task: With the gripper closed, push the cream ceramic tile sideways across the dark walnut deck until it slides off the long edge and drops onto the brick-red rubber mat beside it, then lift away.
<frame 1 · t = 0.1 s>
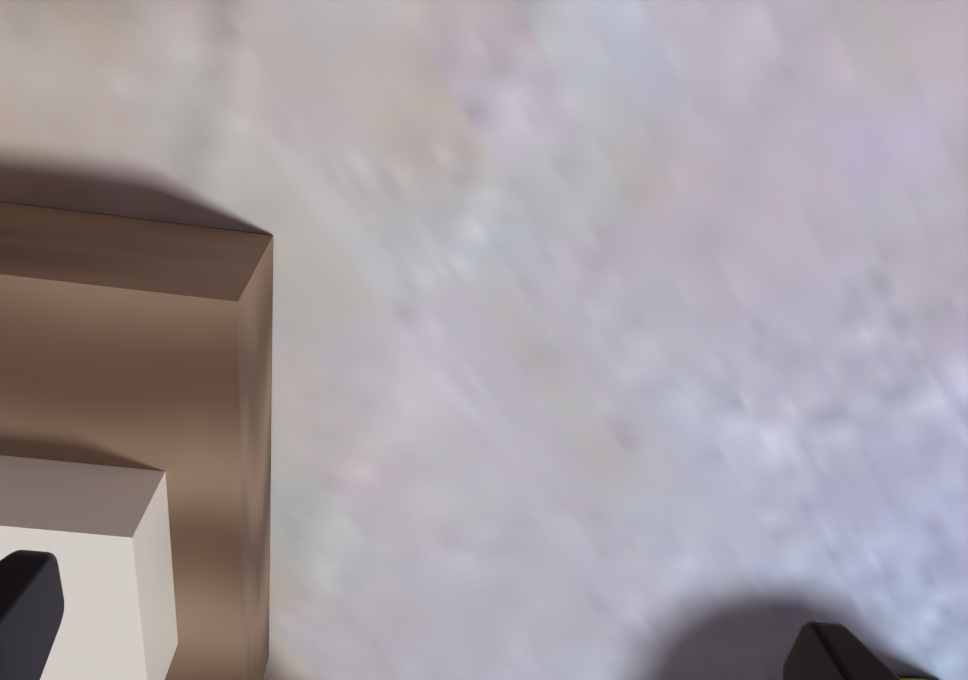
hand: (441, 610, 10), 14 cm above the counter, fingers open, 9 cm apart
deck: (86, 462, 27), on the counter
tile: (46, 587, 22), point 5 cm above the counter, touching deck
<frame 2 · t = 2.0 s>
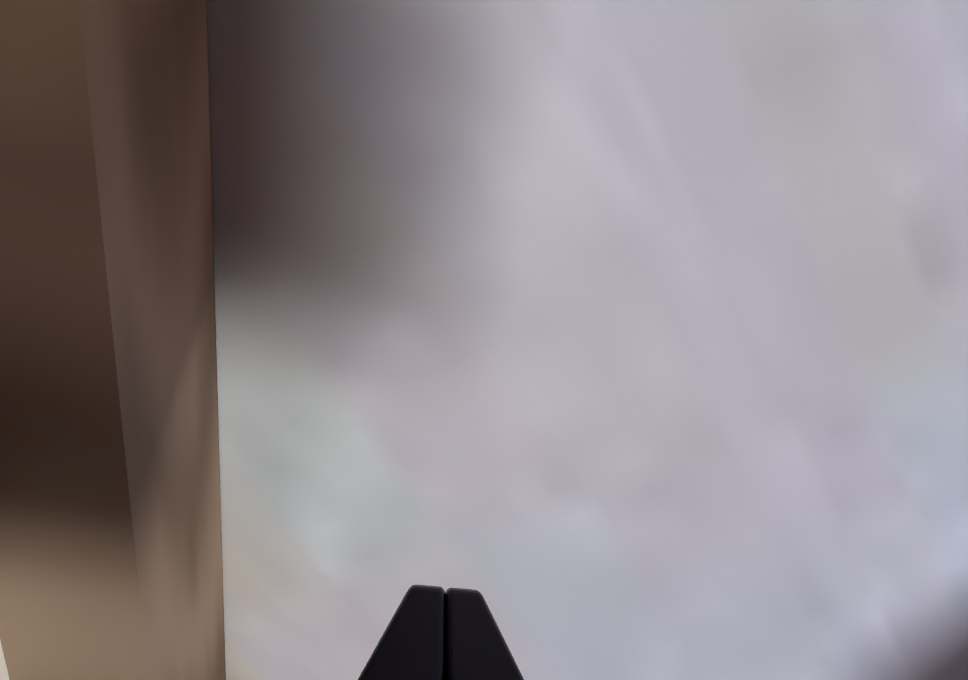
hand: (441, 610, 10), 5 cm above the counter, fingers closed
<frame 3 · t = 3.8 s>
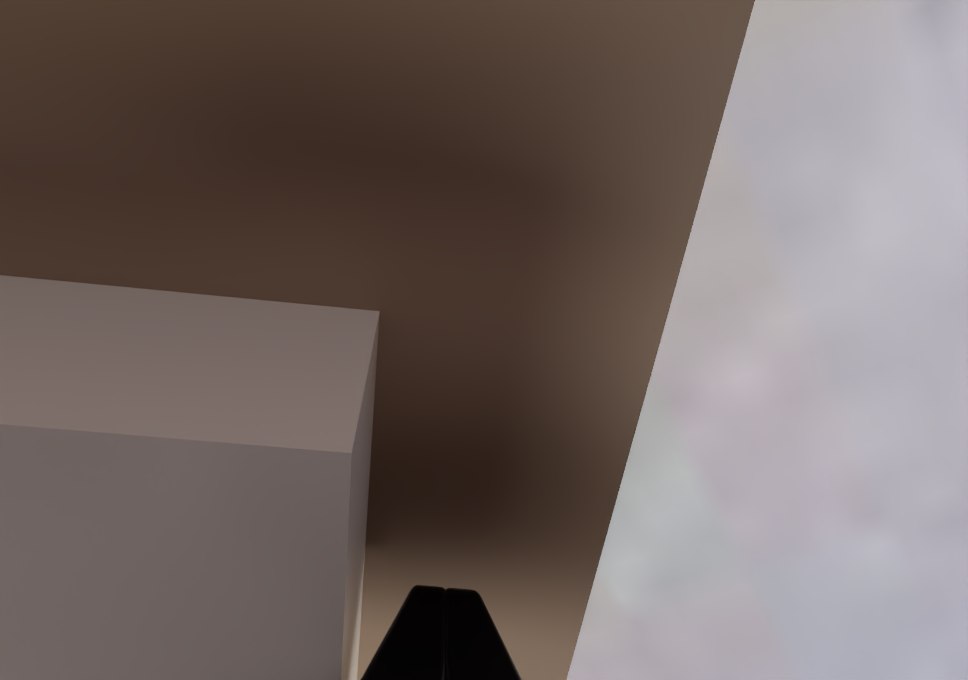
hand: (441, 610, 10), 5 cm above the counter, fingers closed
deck: (222, 361, 14), on the counter
tile: (92, 603, 9), point 5 cm above the counter, touching gripper
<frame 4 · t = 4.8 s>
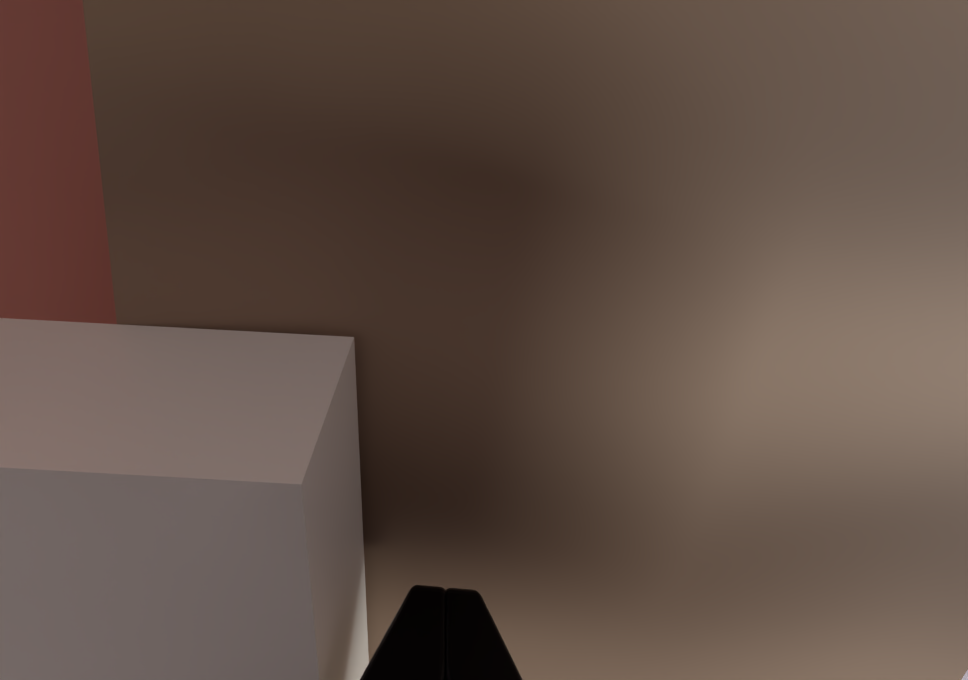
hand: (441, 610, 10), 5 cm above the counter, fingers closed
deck: (564, 396, 14), on the counter
tile: (95, 630, 10), point 5 cm above the counter, touching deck, gripper
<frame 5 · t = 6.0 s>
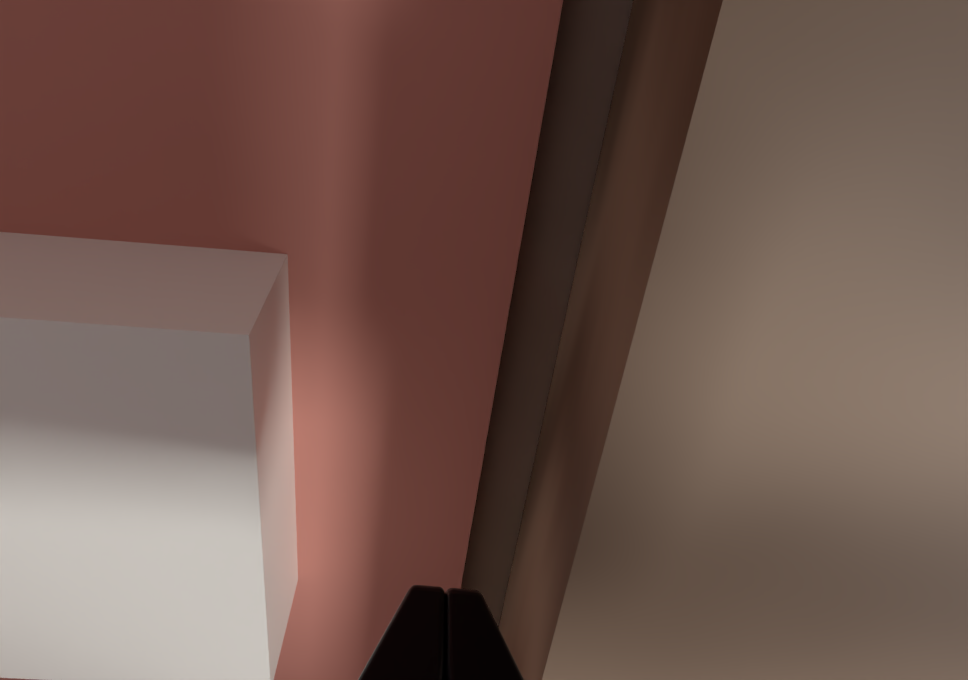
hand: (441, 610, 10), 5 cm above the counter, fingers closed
mat: (142, 350, 14), on the counter
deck: (871, 429, 15), on the counter
tile: (89, 471, 13), point 2 cm above the counter, tilted 180°, touching mat
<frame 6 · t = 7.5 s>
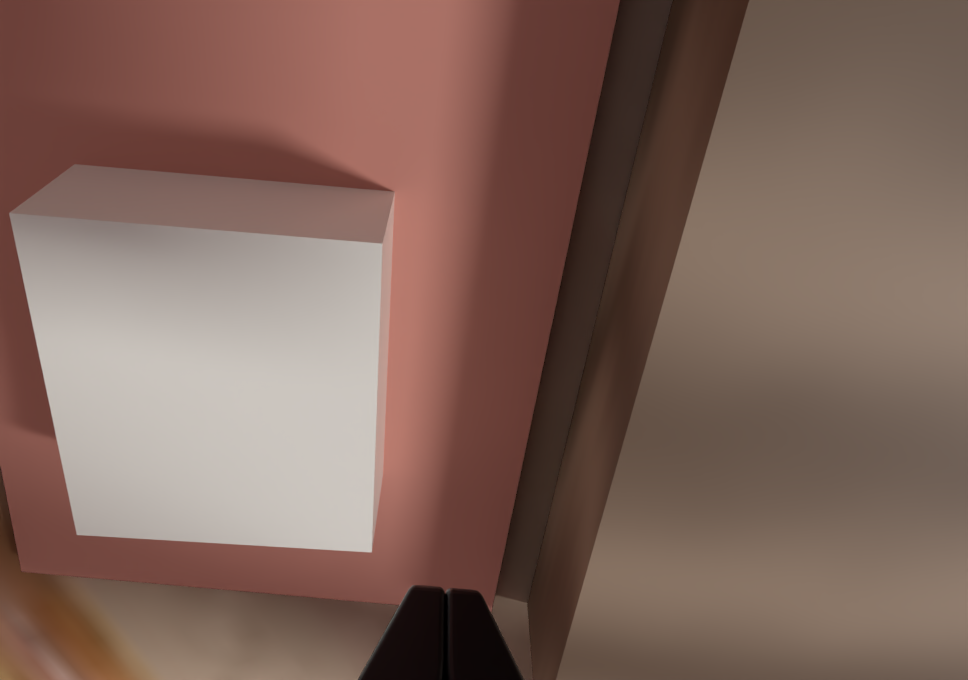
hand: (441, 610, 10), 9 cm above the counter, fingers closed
mat: (268, 274, 17), on the counter
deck: (862, 345, 18), on the counter
tile: (230, 368, 16), point 2 cm above the counter, tilted 180°, touching mat
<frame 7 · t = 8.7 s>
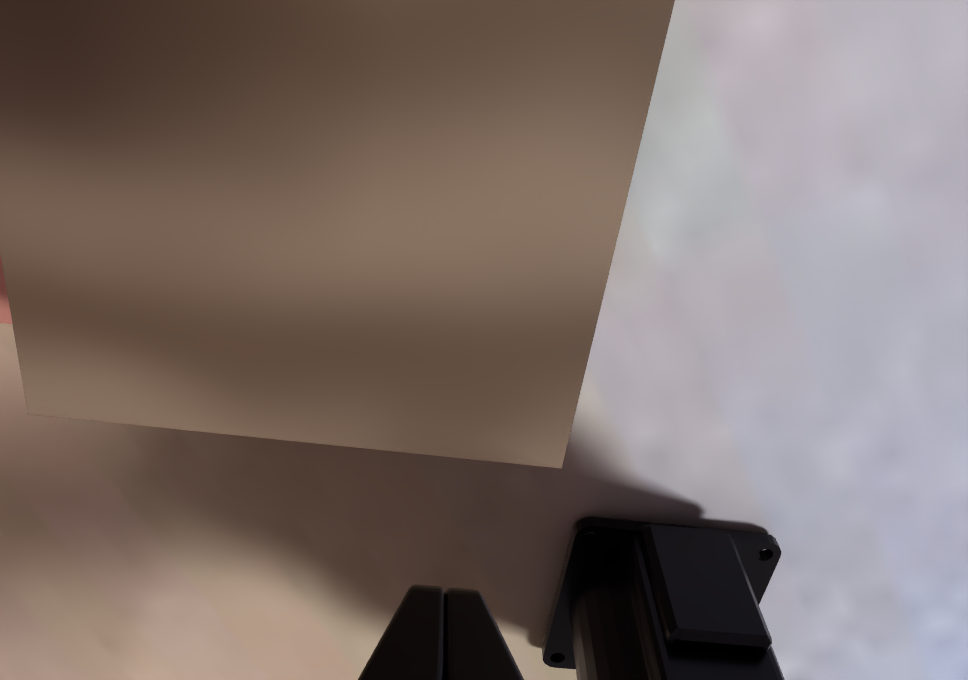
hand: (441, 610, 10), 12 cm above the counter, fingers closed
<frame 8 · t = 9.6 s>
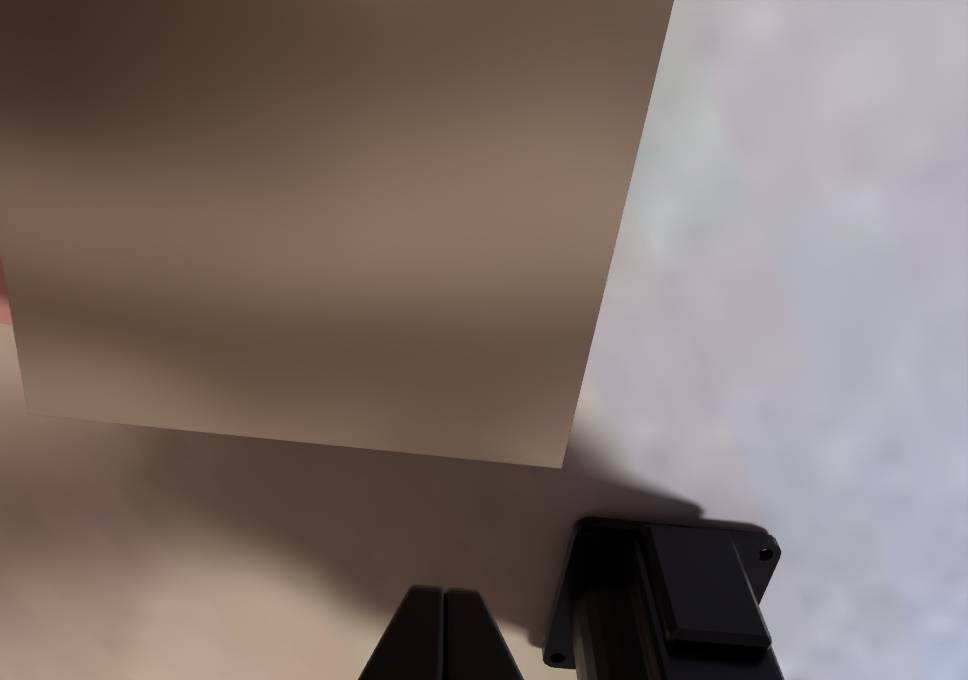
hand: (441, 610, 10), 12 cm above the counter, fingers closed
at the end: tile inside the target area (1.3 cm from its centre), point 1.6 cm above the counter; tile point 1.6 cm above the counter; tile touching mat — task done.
